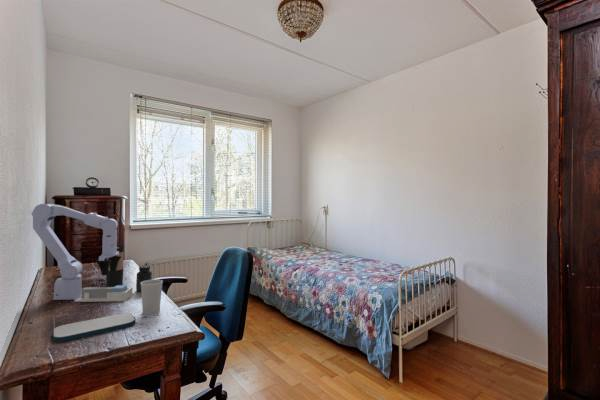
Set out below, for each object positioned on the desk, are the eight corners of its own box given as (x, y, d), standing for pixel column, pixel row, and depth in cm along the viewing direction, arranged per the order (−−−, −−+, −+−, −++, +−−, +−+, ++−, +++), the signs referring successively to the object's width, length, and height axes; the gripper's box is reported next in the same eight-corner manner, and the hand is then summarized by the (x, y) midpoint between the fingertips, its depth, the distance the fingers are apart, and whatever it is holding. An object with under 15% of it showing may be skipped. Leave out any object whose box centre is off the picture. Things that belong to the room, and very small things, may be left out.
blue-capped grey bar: (80, 298, 134) (80, 288, 134) (86, 295, 139) (86, 285, 139) (122, 298, 136) (122, 288, 136) (126, 295, 141) (126, 285, 141)
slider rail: (74, 301, 132) (74, 293, 132) (86, 295, 141) (86, 287, 141) (124, 301, 134) (124, 292, 134) (133, 294, 143) (133, 287, 143)
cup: (140, 316, 117) (140, 285, 117) (140, 309, 124) (140, 280, 124) (162, 313, 121) (163, 283, 121) (161, 307, 128) (162, 278, 128)
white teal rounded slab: (52, 345, 94) (52, 339, 94) (52, 332, 103) (52, 326, 103) (137, 326, 109) (137, 321, 109) (130, 316, 118) (130, 311, 118)
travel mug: (102, 286, 155) (103, 247, 155) (116, 283, 162) (117, 245, 162) (112, 288, 152) (113, 248, 152) (126, 284, 159) (127, 246, 159)
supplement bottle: (145, 293, 146) (145, 268, 146) (132, 292, 147) (133, 267, 147) (154, 289, 153) (155, 265, 153) (142, 288, 154) (143, 264, 154)
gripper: (110, 246, 137) (110, 276, 137) (125, 242, 151) (125, 269, 151) (94, 246, 136) (93, 277, 136) (110, 242, 150) (110, 269, 150)
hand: (109, 273), depth 143 cm, fingers open, 7 cm apart
